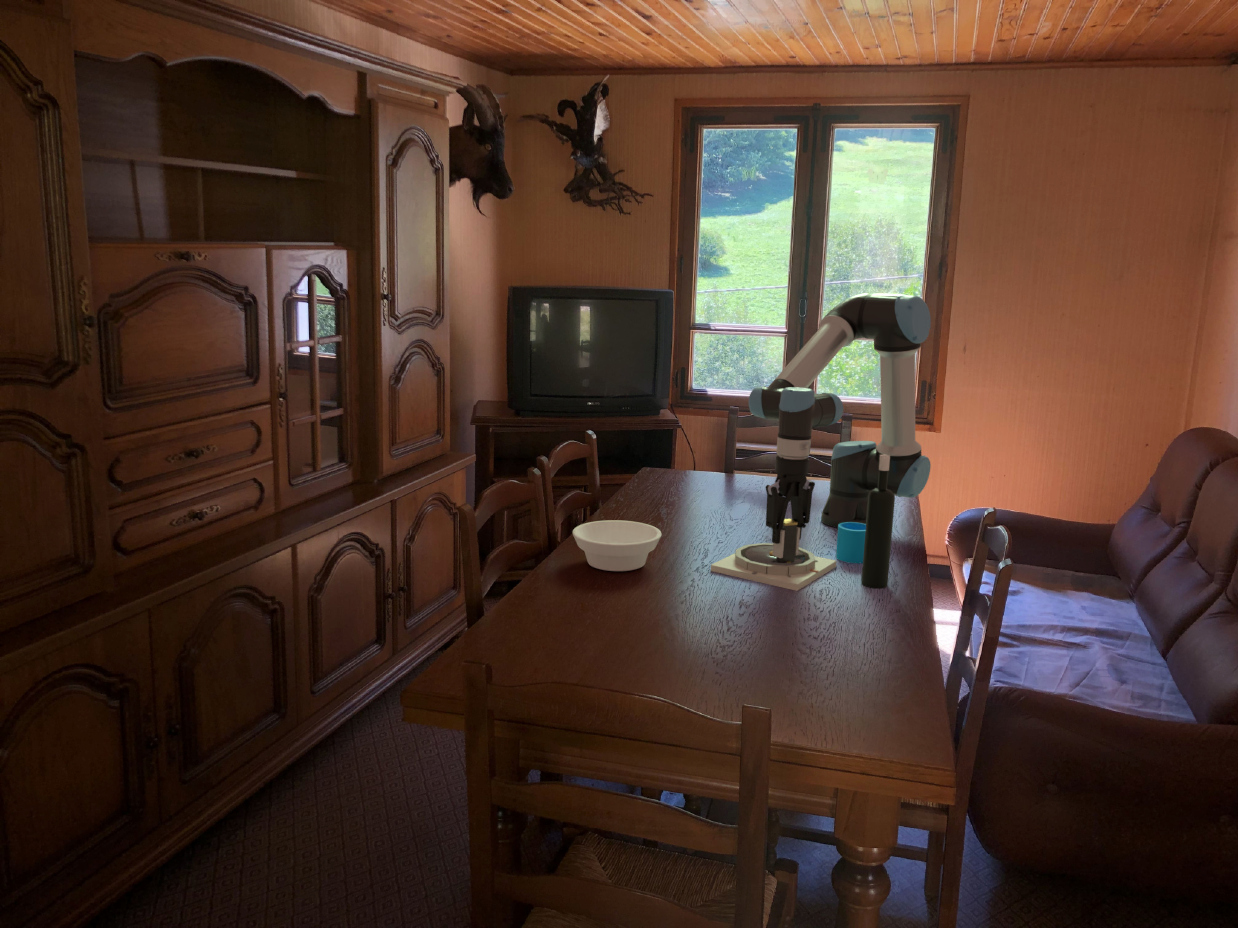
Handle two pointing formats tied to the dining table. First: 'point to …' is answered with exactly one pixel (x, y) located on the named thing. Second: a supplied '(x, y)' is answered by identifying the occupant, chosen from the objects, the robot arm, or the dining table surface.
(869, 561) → the wine bottle
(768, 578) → the dial board
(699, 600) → the dining table surface
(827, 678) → the dining table surface
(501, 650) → the dining table surface
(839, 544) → the mug
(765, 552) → the dial
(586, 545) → the bowl
